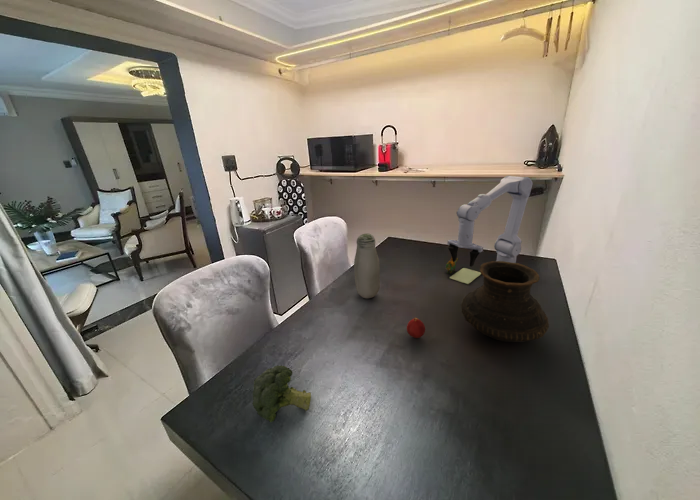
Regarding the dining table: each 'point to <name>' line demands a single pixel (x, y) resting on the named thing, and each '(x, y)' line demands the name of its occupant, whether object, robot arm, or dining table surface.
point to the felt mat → (465, 275)
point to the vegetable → (277, 393)
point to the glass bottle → (366, 267)
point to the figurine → (451, 265)
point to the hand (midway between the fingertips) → (462, 263)
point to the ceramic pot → (506, 304)
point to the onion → (416, 328)
